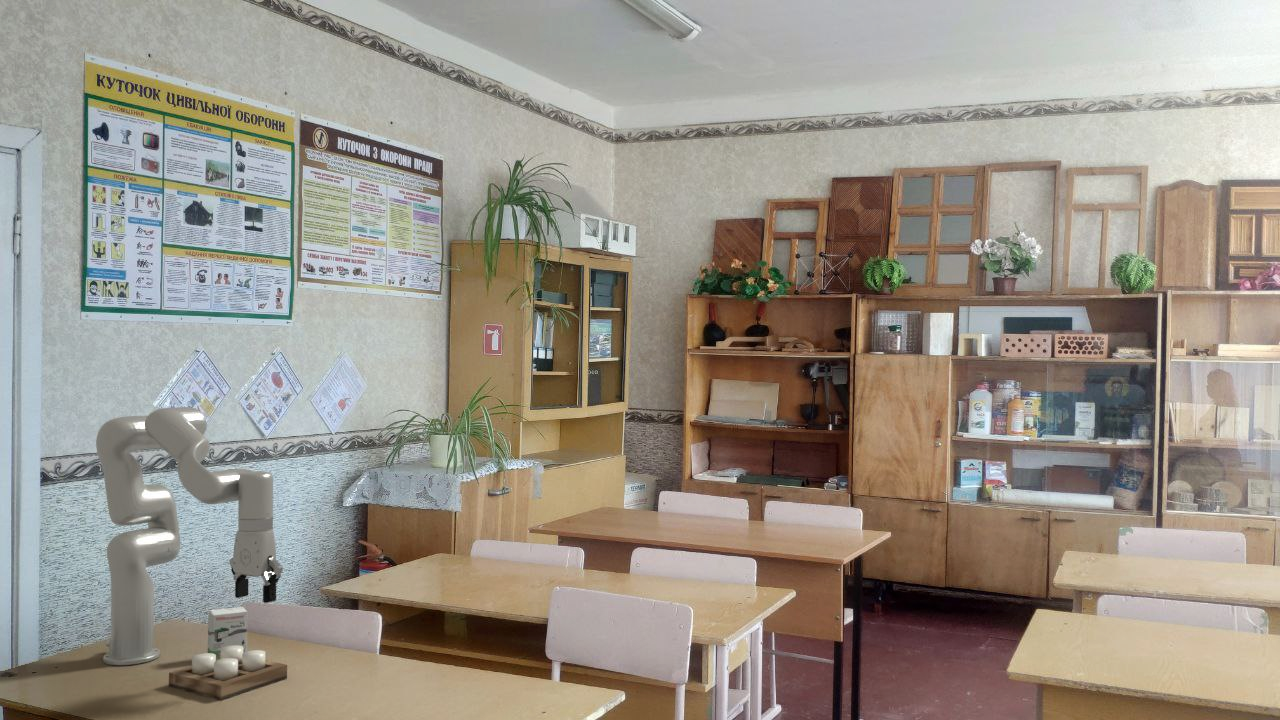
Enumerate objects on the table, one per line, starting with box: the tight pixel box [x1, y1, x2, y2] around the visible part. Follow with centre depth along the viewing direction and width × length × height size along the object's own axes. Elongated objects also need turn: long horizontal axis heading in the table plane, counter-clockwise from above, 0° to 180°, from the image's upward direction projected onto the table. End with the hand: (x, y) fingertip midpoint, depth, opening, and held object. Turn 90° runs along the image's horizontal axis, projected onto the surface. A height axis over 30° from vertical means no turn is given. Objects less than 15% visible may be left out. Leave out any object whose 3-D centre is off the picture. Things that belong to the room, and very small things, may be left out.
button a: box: [191, 652, 216, 675], centre depth 233 cm, size 5×5×4 cm
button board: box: [168, 658, 288, 701], centre depth 234 cm, size 18×18×3 cm
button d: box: [242, 649, 266, 672], centre depth 236 cm, size 5×5×4 cm
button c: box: [214, 658, 238, 680], centre depth 229 cm, size 5×5×4 cm
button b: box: [220, 645, 243, 665], centre depth 240 cm, size 5×5×4 cm
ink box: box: [207, 606, 248, 659], centre depth 254 cm, size 9×5×12 cm, turn 123°
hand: (255, 599), depth 235 cm, fingers open, 9 cm apart
